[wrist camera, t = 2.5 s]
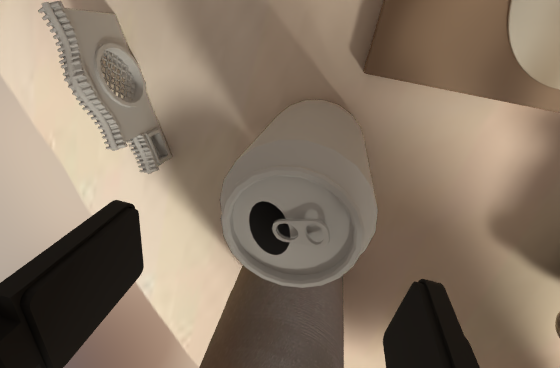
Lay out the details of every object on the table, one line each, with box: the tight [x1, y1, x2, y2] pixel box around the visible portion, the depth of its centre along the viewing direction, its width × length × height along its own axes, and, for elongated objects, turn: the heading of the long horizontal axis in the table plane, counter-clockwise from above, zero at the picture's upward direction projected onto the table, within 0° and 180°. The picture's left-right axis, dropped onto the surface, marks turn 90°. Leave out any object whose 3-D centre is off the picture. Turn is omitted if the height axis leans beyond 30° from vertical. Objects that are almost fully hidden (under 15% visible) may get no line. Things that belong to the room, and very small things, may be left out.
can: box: [220, 100, 378, 288], centre depth 17 cm, size 8×8×12 cm
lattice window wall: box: [38, 1, 172, 174], centre depth 21 cm, size 12×2×6 cm, turn 13°
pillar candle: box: [200, 265, 344, 368], centre depth 22 cm, size 10×10×15 cm
